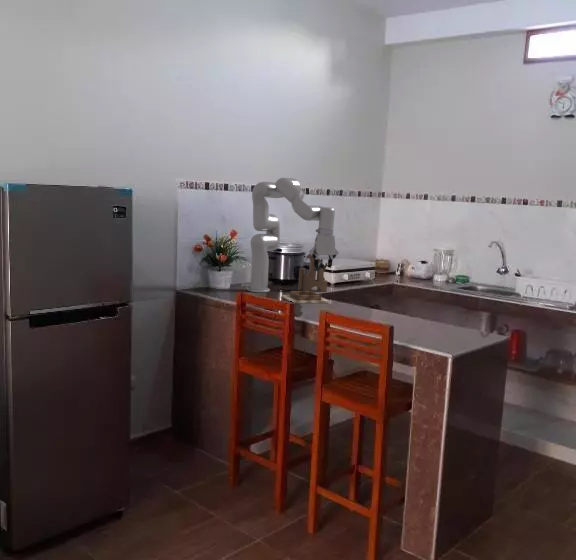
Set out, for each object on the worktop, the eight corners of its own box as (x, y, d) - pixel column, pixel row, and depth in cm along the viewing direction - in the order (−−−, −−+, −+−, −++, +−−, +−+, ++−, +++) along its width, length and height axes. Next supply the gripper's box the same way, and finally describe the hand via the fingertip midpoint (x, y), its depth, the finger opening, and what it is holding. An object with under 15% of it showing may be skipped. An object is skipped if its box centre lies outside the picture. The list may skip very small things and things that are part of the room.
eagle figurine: (333, 269, 321) (325, 265, 329) (328, 257, 318) (319, 254, 326) (322, 277, 319) (313, 273, 327) (316, 265, 316) (308, 262, 324)
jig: (293, 303, 319) (293, 296, 319) (281, 296, 336) (281, 290, 336) (329, 303, 326) (330, 296, 326) (316, 296, 343) (316, 290, 342)
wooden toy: (322, 290, 368) (325, 247, 364) (326, 292, 361) (329, 248, 358) (297, 289, 363) (300, 246, 359) (301, 291, 357) (304, 247, 353)
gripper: (312, 232, 311) (309, 268, 314) (344, 233, 317) (341, 268, 320) (306, 230, 318) (304, 265, 321) (338, 232, 324) (335, 266, 327)
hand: (322, 267), depth 320 cm, fingers closed on eagle figurine, 6 cm apart
